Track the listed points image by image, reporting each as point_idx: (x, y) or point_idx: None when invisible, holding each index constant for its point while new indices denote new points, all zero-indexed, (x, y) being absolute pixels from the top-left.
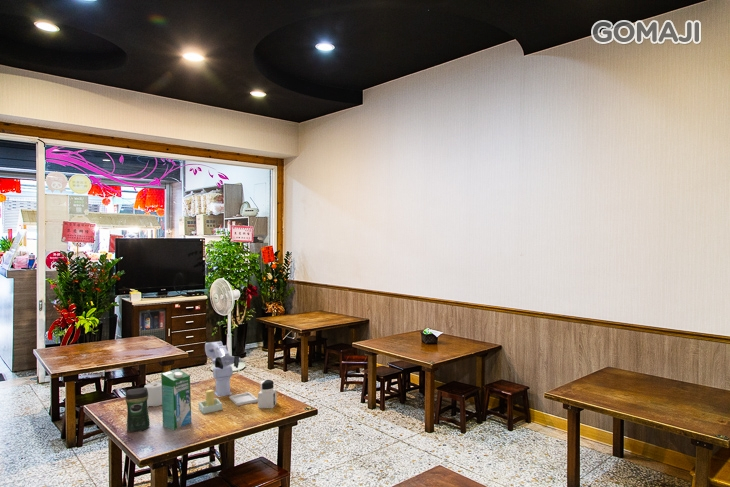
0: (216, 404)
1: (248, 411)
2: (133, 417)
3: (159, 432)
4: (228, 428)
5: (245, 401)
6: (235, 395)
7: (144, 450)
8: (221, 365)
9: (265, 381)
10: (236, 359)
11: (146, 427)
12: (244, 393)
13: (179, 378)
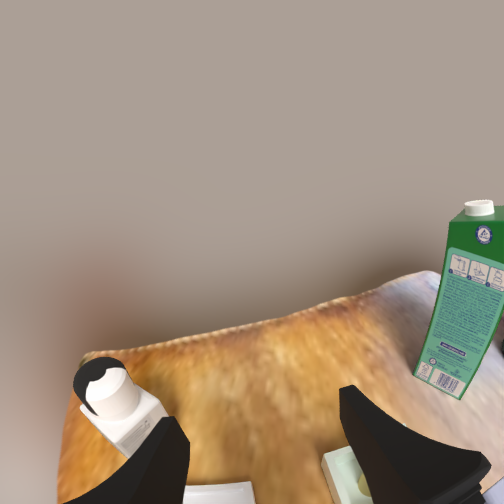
0: (351, 449)
1: (220, 422)
2: None
3: None
4: (299, 332)
5: (207, 485)
6: None
7: None
8: (360, 395)
9: (104, 368)
10: (122, 487)
11: (502, 342)
12: None
13: (463, 212)
